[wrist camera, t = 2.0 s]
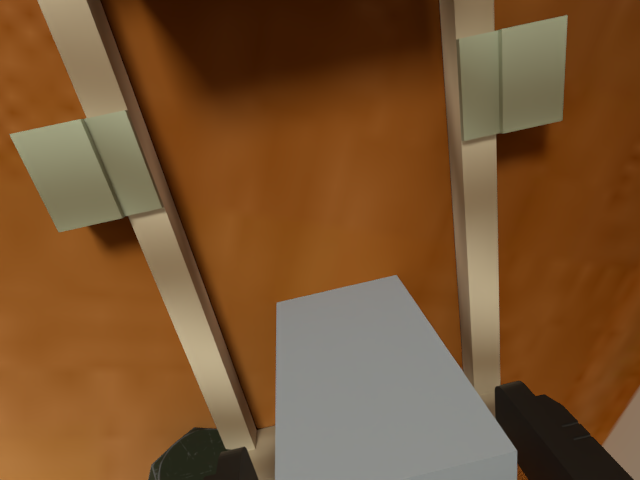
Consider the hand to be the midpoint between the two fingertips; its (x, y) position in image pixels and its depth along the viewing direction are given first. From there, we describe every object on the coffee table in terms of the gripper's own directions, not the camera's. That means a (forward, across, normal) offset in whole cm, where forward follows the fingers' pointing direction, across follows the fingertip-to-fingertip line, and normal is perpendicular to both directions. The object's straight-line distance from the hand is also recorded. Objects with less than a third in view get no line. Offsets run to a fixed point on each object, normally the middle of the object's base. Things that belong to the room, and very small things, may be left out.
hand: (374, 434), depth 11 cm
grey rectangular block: (+5, 0, 0) cm, 5 cm away
